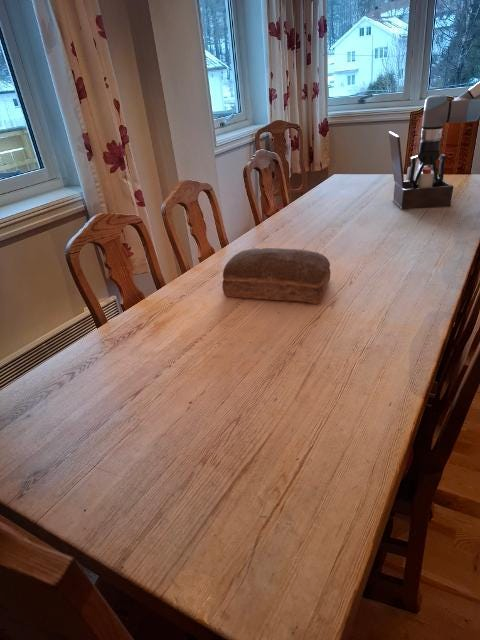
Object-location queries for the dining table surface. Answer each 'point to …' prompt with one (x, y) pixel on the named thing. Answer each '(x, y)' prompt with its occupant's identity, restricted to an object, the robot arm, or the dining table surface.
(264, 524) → the dining table surface
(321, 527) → the dining table surface
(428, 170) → the bottle
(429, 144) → the robot arm
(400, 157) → the lid
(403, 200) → the open box
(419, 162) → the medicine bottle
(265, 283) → the bread
